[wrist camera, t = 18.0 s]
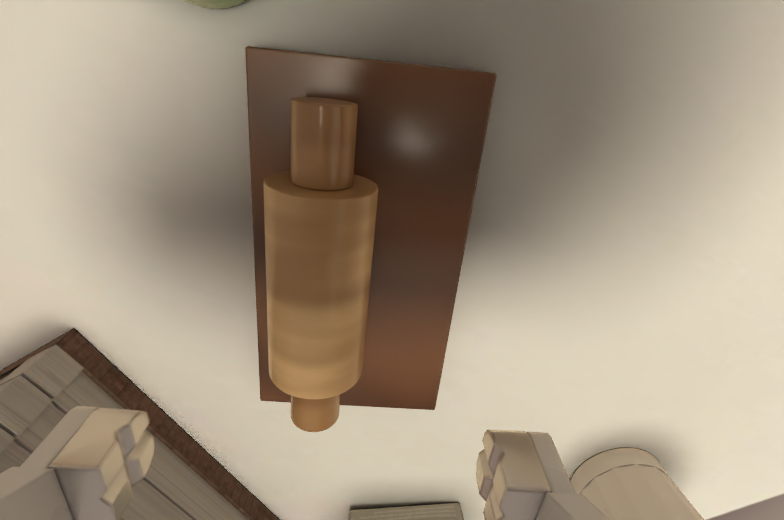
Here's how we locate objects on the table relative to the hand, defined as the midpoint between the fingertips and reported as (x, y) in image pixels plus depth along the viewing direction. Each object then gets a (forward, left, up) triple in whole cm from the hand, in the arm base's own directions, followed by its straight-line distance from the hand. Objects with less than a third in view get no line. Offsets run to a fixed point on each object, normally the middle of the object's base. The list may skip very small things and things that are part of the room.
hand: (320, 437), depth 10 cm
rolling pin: (+1, 0, -11) cm, 11 cm away
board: (+1, 0, -12) cm, 12 cm away
